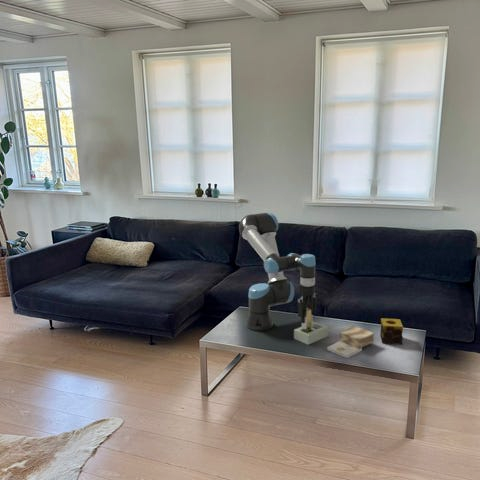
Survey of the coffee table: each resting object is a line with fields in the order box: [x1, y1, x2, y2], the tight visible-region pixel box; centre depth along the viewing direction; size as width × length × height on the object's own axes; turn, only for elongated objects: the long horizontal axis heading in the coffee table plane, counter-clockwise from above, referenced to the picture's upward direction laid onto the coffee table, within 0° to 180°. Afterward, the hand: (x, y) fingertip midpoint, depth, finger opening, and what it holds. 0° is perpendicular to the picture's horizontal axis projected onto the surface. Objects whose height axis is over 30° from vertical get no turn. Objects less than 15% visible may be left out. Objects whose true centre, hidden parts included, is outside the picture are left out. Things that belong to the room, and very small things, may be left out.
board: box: [326, 340, 363, 359], centre depth 226 cm, size 12×12×2 cm
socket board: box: [293, 321, 330, 346], centre depth 241 cm, size 10×16×5 cm, turn 130°
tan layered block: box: [339, 325, 375, 349], centre depth 231 cm, size 12×12×5 cm
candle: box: [379, 317, 404, 346], centre depth 235 cm, size 10×10×10 cm
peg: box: [303, 307, 311, 332], centre depth 237 cm, size 4×4×12 cm
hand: (307, 326), depth 238 cm, fingers closed on peg, 4 cm apart
